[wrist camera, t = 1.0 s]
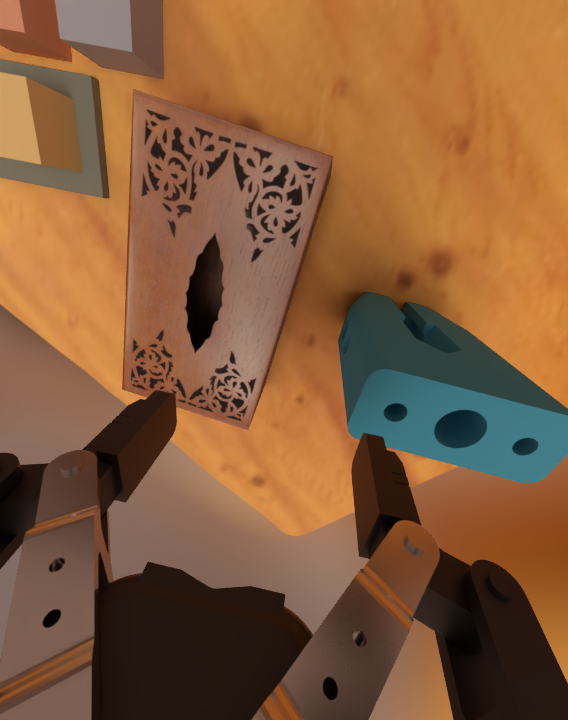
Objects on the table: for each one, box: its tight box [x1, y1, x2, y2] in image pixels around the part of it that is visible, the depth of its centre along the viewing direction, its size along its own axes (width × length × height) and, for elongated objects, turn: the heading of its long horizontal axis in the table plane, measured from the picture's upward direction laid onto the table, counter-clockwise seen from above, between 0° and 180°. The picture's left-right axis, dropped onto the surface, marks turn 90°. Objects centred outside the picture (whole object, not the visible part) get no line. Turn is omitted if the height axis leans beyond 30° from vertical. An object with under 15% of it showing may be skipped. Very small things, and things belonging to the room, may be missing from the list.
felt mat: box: [0, 59, 109, 198], centre depth 30 cm, size 10×14×1 cm
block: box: [338, 292, 568, 483], centre depth 25 cm, size 12×5×20 cm, turn 78°
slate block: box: [55, 0, 164, 79], centre depth 24 cm, size 6×6×5 cm
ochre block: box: [0, 72, 83, 173], centre depth 27 cm, size 6×6×5 cm
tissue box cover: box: [122, 89, 333, 430], centre depth 30 cm, size 26×14×10 cm, turn 164°
